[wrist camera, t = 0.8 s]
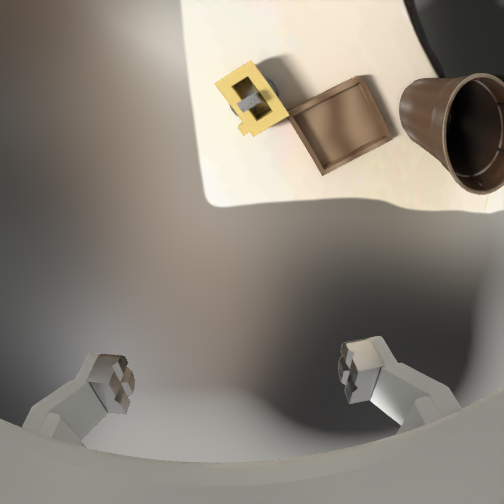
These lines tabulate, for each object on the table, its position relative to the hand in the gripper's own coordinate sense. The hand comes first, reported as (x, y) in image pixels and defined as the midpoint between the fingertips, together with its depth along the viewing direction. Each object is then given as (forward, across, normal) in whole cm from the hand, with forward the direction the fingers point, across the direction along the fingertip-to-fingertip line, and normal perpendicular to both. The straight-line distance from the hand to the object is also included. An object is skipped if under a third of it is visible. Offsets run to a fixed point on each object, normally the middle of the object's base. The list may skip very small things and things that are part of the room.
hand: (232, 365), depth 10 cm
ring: (+34, -3, -13) cm, 37 cm away
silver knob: (+36, -4, -13) cm, 39 cm away
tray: (+36, -16, -9) cm, 41 cm away
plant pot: (+34, -33, -13) cm, 49 cm away
